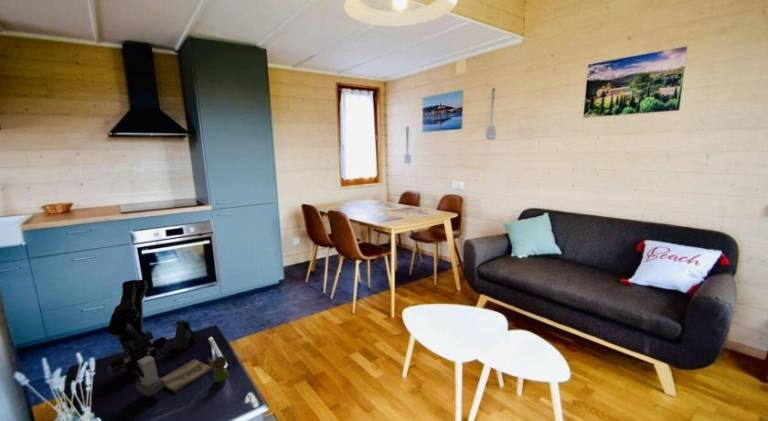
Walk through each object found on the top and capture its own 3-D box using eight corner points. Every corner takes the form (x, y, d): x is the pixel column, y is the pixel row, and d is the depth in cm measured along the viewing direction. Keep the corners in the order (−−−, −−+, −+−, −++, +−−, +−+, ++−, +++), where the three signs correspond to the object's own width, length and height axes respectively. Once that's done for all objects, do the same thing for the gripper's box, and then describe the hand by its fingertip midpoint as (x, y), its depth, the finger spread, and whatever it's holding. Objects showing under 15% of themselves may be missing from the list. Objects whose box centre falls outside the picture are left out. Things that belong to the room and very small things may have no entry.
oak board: (158, 383, 136) (157, 380, 135) (194, 361, 148) (194, 358, 148) (175, 393, 130) (174, 390, 129) (211, 369, 142) (211, 366, 142)
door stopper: (180, 351, 156) (175, 327, 153) (173, 347, 159) (168, 324, 157) (199, 341, 163) (195, 318, 161) (192, 338, 167) (188, 315, 164)
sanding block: (136, 389, 128) (130, 361, 126) (154, 379, 133) (148, 352, 131) (148, 396, 124) (142, 367, 122) (165, 386, 129) (159, 358, 127)
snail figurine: (209, 382, 134) (204, 355, 132) (225, 374, 139) (221, 347, 137) (214, 389, 131) (210, 361, 128) (231, 380, 135) (227, 353, 133)
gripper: (103, 342, 118) (126, 380, 115) (160, 317, 134) (181, 350, 131) (98, 356, 123) (119, 393, 120) (153, 330, 139) (173, 362, 136)
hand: (150, 373), depth 127 cm, fingers closed on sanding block, 4 cm apart
